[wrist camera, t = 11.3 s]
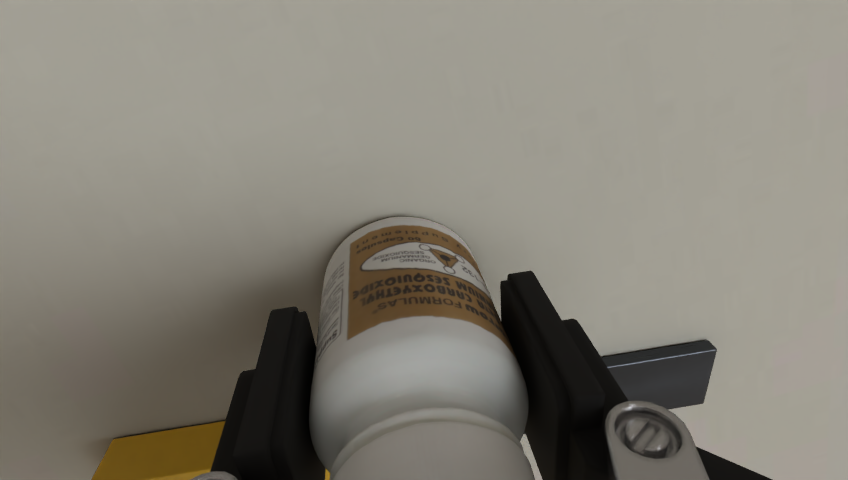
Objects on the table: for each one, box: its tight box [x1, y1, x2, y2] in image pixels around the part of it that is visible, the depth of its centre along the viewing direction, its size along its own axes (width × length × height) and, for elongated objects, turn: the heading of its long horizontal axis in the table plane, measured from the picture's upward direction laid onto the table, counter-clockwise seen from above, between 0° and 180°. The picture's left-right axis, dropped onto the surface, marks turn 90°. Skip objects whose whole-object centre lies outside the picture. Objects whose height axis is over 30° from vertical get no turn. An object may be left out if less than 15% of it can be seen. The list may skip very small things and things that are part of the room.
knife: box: [91, 340, 717, 480], centre depth 16 cm, size 20×3×2 cm, turn 96°
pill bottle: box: [309, 217, 535, 480], centre depth 11 cm, size 4×4×8 cm
